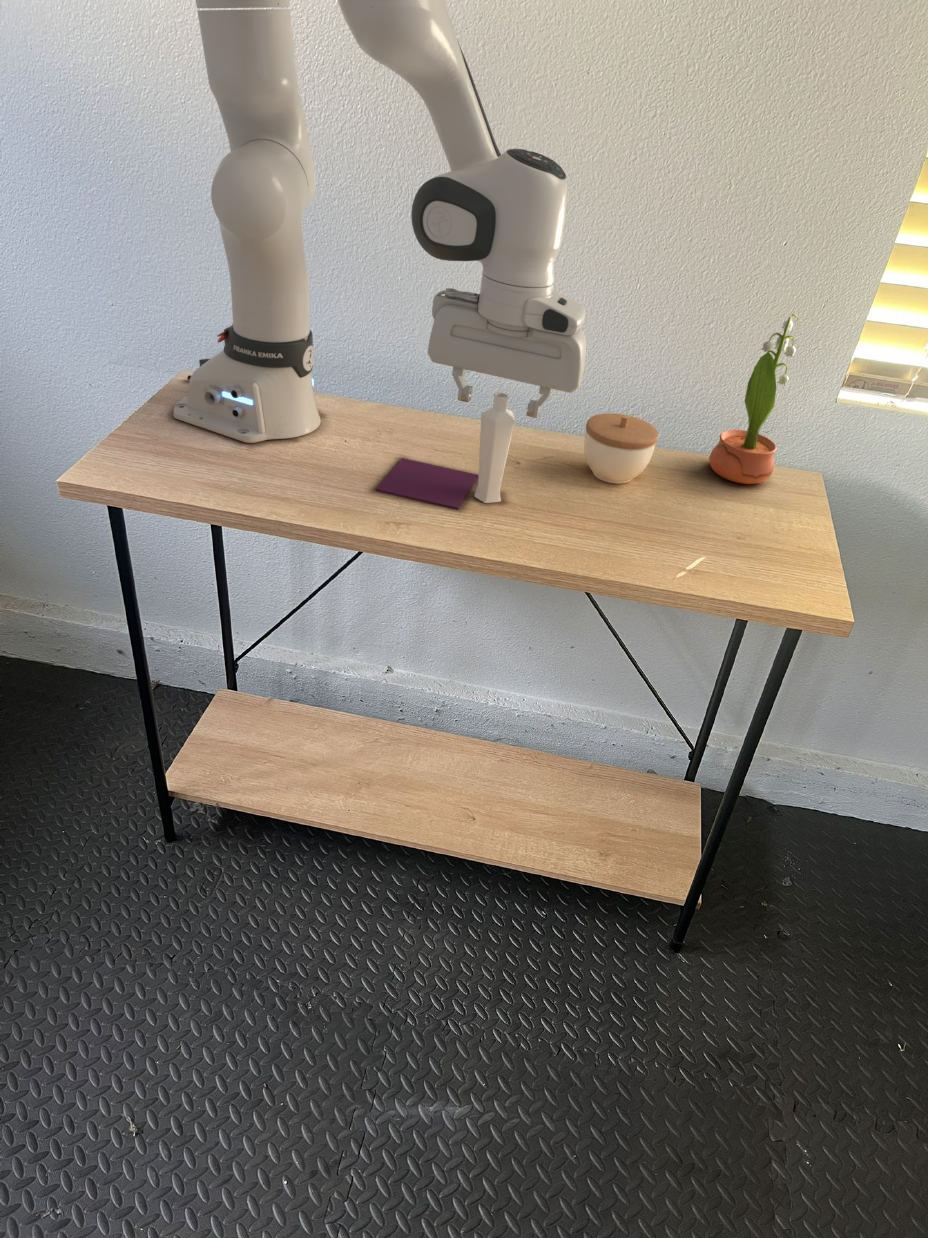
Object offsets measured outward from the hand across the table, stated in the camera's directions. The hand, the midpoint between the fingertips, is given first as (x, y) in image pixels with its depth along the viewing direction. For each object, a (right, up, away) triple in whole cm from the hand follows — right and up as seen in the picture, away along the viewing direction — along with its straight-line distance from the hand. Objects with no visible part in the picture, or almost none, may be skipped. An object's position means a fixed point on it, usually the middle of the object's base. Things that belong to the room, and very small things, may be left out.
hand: (498, 407), depth 113 cm
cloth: (-10, -9, +9) cm, 16 cm away
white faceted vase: (-1, -11, +8) cm, 13 cm away
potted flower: (+39, -5, +23) cm, 46 cm away
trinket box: (+18, -6, +18) cm, 26 cm away
